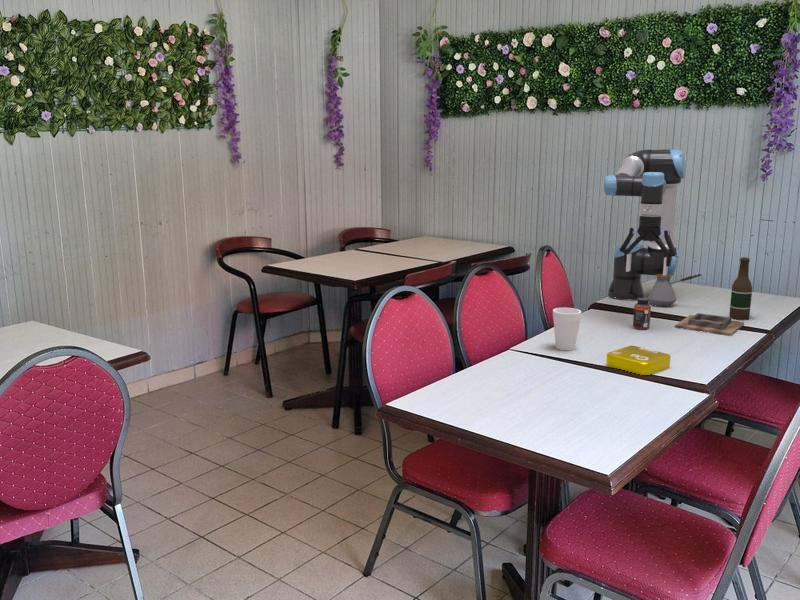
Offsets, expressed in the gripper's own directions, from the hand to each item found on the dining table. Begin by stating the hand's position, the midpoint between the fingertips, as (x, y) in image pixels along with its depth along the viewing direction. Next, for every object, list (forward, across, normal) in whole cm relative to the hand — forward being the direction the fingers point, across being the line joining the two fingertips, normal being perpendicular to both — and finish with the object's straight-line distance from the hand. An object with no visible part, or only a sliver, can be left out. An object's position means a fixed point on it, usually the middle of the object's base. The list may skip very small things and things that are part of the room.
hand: (646, 273), depth 276 cm
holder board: (+21, +20, +18) cm, 34 cm away
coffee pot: (+21, -1, +43) cm, 48 cm away
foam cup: (+21, -13, -41) cm, 48 cm away
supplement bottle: (+21, 0, 0) cm, 21 cm away
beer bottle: (+21, +26, +38) cm, 50 cm away
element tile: (+22, +14, -46) cm, 53 cm away
